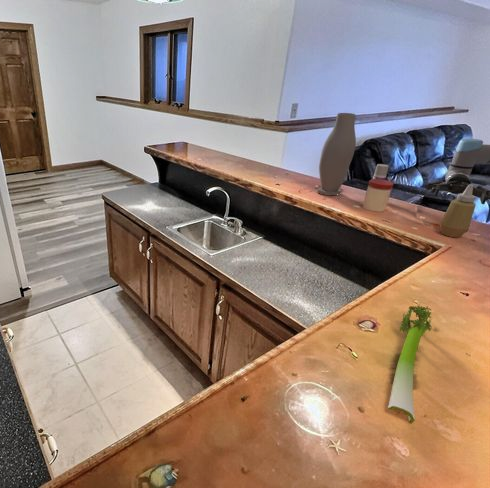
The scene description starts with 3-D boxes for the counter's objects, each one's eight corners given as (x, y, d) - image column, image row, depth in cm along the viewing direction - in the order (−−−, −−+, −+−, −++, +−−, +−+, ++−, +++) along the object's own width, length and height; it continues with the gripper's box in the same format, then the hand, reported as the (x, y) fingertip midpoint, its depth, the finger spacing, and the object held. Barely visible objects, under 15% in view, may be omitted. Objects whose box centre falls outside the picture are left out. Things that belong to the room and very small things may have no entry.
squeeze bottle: (435, 228, 127) (454, 180, 119) (463, 233, 124) (484, 183, 116) (437, 236, 121) (457, 186, 113) (466, 241, 118) (489, 190, 109)
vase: (329, 187, 170) (346, 111, 155) (350, 195, 160) (371, 114, 144) (307, 190, 166) (323, 112, 150) (328, 199, 155) (347, 116, 140)
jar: (385, 207, 147) (393, 182, 142) (384, 213, 140) (392, 188, 136) (363, 203, 151) (369, 179, 146) (361, 209, 144) (368, 184, 140)
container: (381, 199, 156) (391, 165, 149) (375, 200, 154) (385, 167, 147) (371, 196, 160) (380, 163, 153) (365, 197, 157) (374, 164, 151)
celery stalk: (371, 413, 60) (395, 314, 80) (418, 439, 57) (430, 329, 77) (387, 393, 56) (408, 295, 77) (437, 419, 53) (445, 310, 74)
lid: (367, 187, 140) (368, 182, 139) (369, 182, 147) (370, 177, 146) (392, 190, 136) (393, 186, 135) (392, 185, 143) (393, 181, 142)
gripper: (494, 197, 135) (501, 214, 120) (417, 186, 148) (415, 199, 132) (502, 179, 132) (511, 193, 116) (423, 168, 145) (422, 180, 129)
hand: (460, 196), depth 124 cm, fingers open, 13 cm apart
